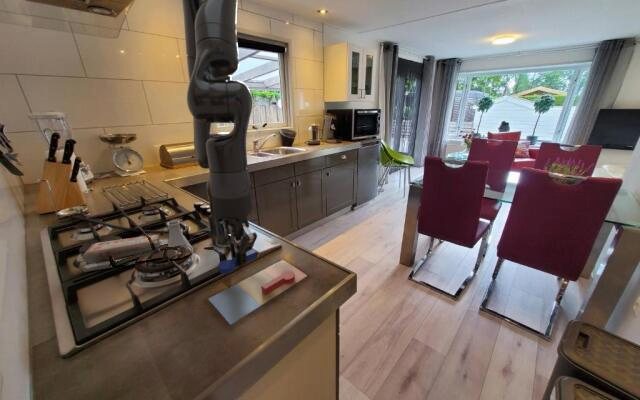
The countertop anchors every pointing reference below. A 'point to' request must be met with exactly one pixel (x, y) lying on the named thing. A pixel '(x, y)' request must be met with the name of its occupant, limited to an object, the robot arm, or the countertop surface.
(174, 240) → the flask
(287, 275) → the red spoon
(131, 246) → the packaged product
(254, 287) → the sorting mat
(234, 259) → the blue spoon
